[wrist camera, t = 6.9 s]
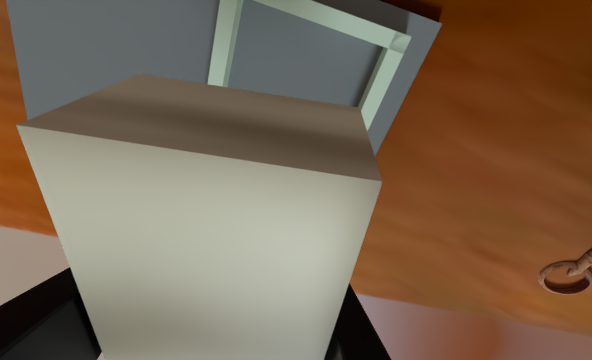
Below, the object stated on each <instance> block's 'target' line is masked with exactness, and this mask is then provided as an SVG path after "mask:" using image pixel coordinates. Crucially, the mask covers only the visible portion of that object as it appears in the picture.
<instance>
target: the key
mask: <svg viewBox="0 0 592 360" xmlns="http://www.w3.org/2000/svg"><path fill="white" fill-rule="evenodd" d="M591 265H592V250H591V251H589V252H588V253H586V254H584V255H583V257H582V258H581V259H579V260H578V261H577V262H576V263H573V262H558V263H554V264H551V265H548V266H546V267H545V268H543V269H542V270H541V271H540V272H539V274H538V276H537V280H538V282H539V284H540V285H541V286H542V287H543V288H545V289H546V290H548V291H550V292H553V293H557V294H564V295H569V294H576V293H580V292H583V291H585V290H586V289H588V288H589V287H590V286H591V285H592V274H591V272H590V271H589V270H588V269H587V268H588V267H589V266H591ZM559 268H570V269H569V272H568V274H567V275H568V276H572V275H576V274H579V273H582V272H585V273H586V277H585V279H584V281H583V282H582V283H580V284H579V285H577V286H575V287H572V288H567V289H555V288H551V287H548V286H546V285H545V284H544V279H545V277H546V275H547V274H548V273H550V272H551V271H553V270H556V269H559Z"/></svg>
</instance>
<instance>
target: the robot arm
mask: <svg viewBox="0 0 592 360" xmlns="http://www.w3.org/2000/svg"><path fill="white" fill-rule="evenodd" d="M101 352H102V350H101V347H100V345H99V342H98V340H97V337H96V334H95V332H94V329H93V326H92V324H91V321H90V318H89V316H88V313H87V310H86V308H85V305H84V303H83V300H82V297H81V295H80V292H79V289H78V287H77V284H76V281H75V279H74V276H73V274H72V271H71V268H70V267H69V268H68V269H66V270H64V271H62V272H61V273H59V274H57V275H55V276H53V277H51V278H49V279H48V280H46V281H44V282H42V283H40V284H39V285H37V286H35V287H33V288H31V289H30V290H28V291H26V292H24V293H22V294H21V295H19V296H17V297H15V298H13V299H12V300H10V301H8V302H6V303H4V304H3V305H1V306H0V360H97V359H98V357H99V356H100V354H101ZM324 360H391V358H390V356H389V354H388V353H387V351H386V349H385V347H384V345H383V343H382V342H381V340H380V338H379V336H378V334H377V333H376V331H375V329H374V327H373V325H372V324H371V322H370V320H369V318H368V316H367V314H366V313H365V311H364V309H363V307H362V305H361V303H360V302H359V300H358V298H357V296H356V294H355V292H354V291H353V289H352V287H351V285H350V283H349V285H348V288H347V291H346V294H345V297H344V300H343V303H342V306H341V309H340V312H339V315H338V318H337V321H336V324H335V327H334V330H333V333H332V336H331V339H330V342H329V345H328V348H327V351H326V354H325V357H324Z"/></svg>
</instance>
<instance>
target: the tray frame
mask: <svg viewBox="0 0 592 360" xmlns="http://www.w3.org/2000/svg"><path fill="white" fill-rule="evenodd" d="M254 1H256V2H259V3H262V4H265V5H268V6H270V7H273V8H276V9H279V10H282V11H284V12H287V13H290V14H293V15H296V16H298V17H301V18H304V19H307V20H310V21H312V22H315V23H318V24H321V25H324V26H326V27H329V28H332V29H335V30H338V31H340V32H343V33H346V34H349V35H352V36H354V37H357V38H360V39H363V40H365V41H368V42H371V43H374V44H377V45H379V46H382V47H383V49H382V52H381V54H380V56H379V59H378V61H377V63H376V66H375V68H374V70H373V73H372V75H371V77H370V80H369V82H368V84H367V87H366V89H365V91H364V94H363V96H362V98H361V101H360V103H359V105H358V107H359V108H360V110H361V113H362V116H363V120H364V123H365V126H366V129H367V131H368V129H369V127H370V125H371V123H372V120H373V118H374V116H375V114H376V112H377V110H378V108H379V106H380V103H381V101H382V99H383V97H384V95H385V93H386V91H387V88H388V86H389V84H390V82H391V80H392V78H393V76H394V74H395V71H396V69H397V67H398V65H399V63H400V61H401V59H402V56H403V54H404V52H405V50H406V48H407V46H408V44H409V42H410V39H411V36H409V35H407V34H404V33H401V32H398V31H396V30H393V29H390V28H387V27H385V26H382V25H379V24H376V23H374V22H371V21H368V20H365V19H363V18H360V17H357V16H354V15H352V14H349V13H346V12H343V11H341V10H338V9H335V8H332V7H330V6H327V5H324V4H321V3H319V2H316V1H313V0H254ZM242 5H243V0H220V3H219V10H218V17H217V24H216V30H215V37H214V44H213V50H212V57H211V64H210V70H209V77H208V84H209V85H216V86H222V87H227V86H228V81H229V76H230V70H231V65H232V59H233V54H234V49H235V43H236V38H237V32H238V27H239V22H240V16H241V11H242Z"/></svg>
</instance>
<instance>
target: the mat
mask: <svg viewBox="0 0 592 360" xmlns="http://www.w3.org/2000/svg"><path fill="white" fill-rule="evenodd" d="M313 1H316V2H319V3H321V4H324V5H327V6H330V7H332V8H335V9H338V10H341V11H343V12H346V13H349V14H352V15H354V16H357V17H360V18H363V19H365V20H368V21H371V22H374V23H376V24H379V25H382V26H385V27H387V28H390V29H393V30H396V31H398V32H401V33H404V34H407V35H409V36H411V39H410V42H409V44H408V46H407V48H406V50H405V52H404V54H403V56H402V59H401V61H400V63H399V65H398V67H397V69H396V71H395V74H394V76H393V78H392V80H391V82H390V84H389V86H388V88H387V91H386V93H385V95H384V97H383V99H382V101H381V103H380V106H379V108H378V110H377V112H376V114H375V116H374V118H373V120H372V123H371V125H370V127H369V129H368V131H367V133H368V136H369V139H370V142H371V146H372V149H373V152H374V156H375V155H376V153H377V151H378V149H379V147H380V145H381V143H382V141H383V139H384V137H385V135H386V133H387V131H388V129H389V128H390V126H391V124H392V122H393V120H394V118H395V116H396V114H397V112H398V110H399V108H400V106H401V104H402V102H403V100H404V98H405V96H406V94H407V92H408V90H409V88H410V86H411V84H412V82H413V80H414V78H415V76H416V74H417V72H418V70H419V68H420V66H421V64H422V63H423V61H424V59H425V57H426V55H427V53H428V51H429V49H430V47H431V45H432V43H433V41H434V39H435V37H436V35H437V33H438V31H439V29H440V27H441V25H442V24H441V23H439V22H436V21H433V20H431V19H428V18H425V17H422V16H420V15H417V14H414V13H412V12H409V11H406V10H404V9H401V8H398V7H396V6H393V5H390V4H387V3H385V2H382V1H379V0H313ZM6 3H7V8H8V14H9V19H10V25H11V31H12V36H13V42H14V47H15V53H16V59H17V64H18V70H19V75H20V81H21V87H22V92H23V98H24V103H25V109H26V115H27V120H29V119H32V118H34V117H37V116H39V115H41V114H44V113H46V112H49V111H51V110H53V109H56V108H58V107H61V106H63V105H66V104H68V103H70V102H73V101H75V100H78V99H80V98H82V97H85V96H87V95H90V94H92V93H95V92H97V91H99V90H102V89H104V88H107V87H109V86H111V85H114V84H116V83H119V82H121V81H124V80H126V79H128V78H131V77H133V76H136V75H138V74H144V75H151V76H157V77H164V78H170V79H177V80H183V81H190V82H196V83H203V84H208V77H209V70H210V64H211V57H212V50H213V44H214V37H215V30H216V24H217V17H218V10H219V3H220V0H6ZM382 49H383V47H382V46H379V45H377V44H374V43H371V42H368V41H365V40H363V39H360V38H357V37H354V36H352V35H349V34H346V33H343V32H340V31H338V30H335V29H332V28H329V27H326V26H324V25H321V24H318V23H315V22H312V21H310V20H307V19H304V18H301V17H298V16H296V15H293V14H290V13H287V12H284V11H282V10H279V9H276V8H273V7H270V6H268V5H265V4H262V3H259V2H256V1H254V0H243V5H242V11H241V16H240V22H239V27H238V32H237V38H236V43H235V49H234V54H233V59H232V65H231V70H230V76H229V81H228V86H227V87H229V88H235V89H242V90H248V91H255V92H261V93H268V94H274V95H281V96H287V97H294V98H300V99H307V100H313V101H320V102H326V103H333V104H339V105H346V106H352V107H358V105H359V103H360V101H361V98H362V96H363V94H364V91H365V89H366V87H367V84H368V82H369V80H370V77H371V75H372V73H373V70H374V68H375V66H376V63H377V61H378V59H379V56H380V54H381V52H382Z"/></svg>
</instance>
